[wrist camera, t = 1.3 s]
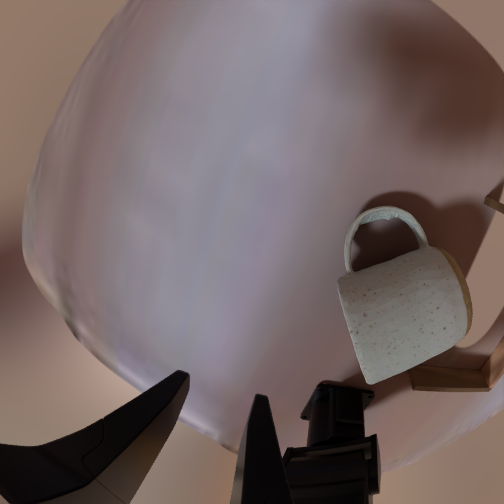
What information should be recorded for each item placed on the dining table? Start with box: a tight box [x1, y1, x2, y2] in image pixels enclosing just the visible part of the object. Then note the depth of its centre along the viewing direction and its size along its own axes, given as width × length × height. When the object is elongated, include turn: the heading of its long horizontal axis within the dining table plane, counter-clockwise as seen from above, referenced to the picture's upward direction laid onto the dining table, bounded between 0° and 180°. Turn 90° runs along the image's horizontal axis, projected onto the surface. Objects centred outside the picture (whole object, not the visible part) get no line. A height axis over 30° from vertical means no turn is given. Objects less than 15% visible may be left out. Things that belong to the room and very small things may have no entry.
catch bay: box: [407, 197, 504, 392], centre depth 16 cm, size 17×12×3 cm
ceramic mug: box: [337, 206, 472, 385], centre depth 15 cm, size 11×8×8 cm
